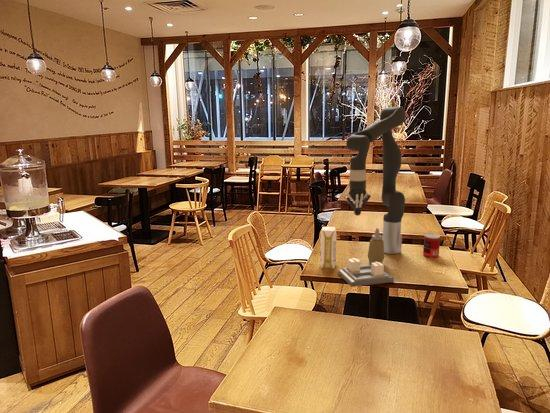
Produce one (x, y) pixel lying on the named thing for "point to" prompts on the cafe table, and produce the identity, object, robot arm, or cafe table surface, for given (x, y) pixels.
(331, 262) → the juice carton
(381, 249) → the squeeze bottle
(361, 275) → the grey tray
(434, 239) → the canned food
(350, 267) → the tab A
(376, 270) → the tab
